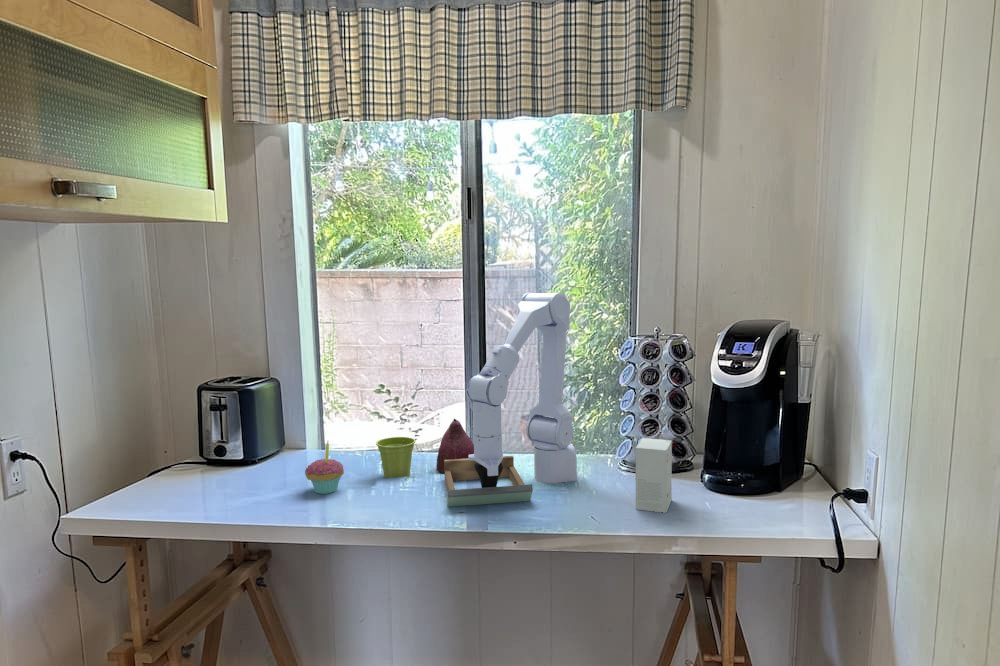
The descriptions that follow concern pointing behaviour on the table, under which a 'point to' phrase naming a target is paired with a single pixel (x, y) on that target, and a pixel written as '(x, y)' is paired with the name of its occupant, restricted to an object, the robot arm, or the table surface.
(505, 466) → the cart bed
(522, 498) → the green board
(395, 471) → the plant pot
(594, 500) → the table surface
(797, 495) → the table surface
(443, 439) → the vegetable
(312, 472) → the cupcake
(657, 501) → the small box
